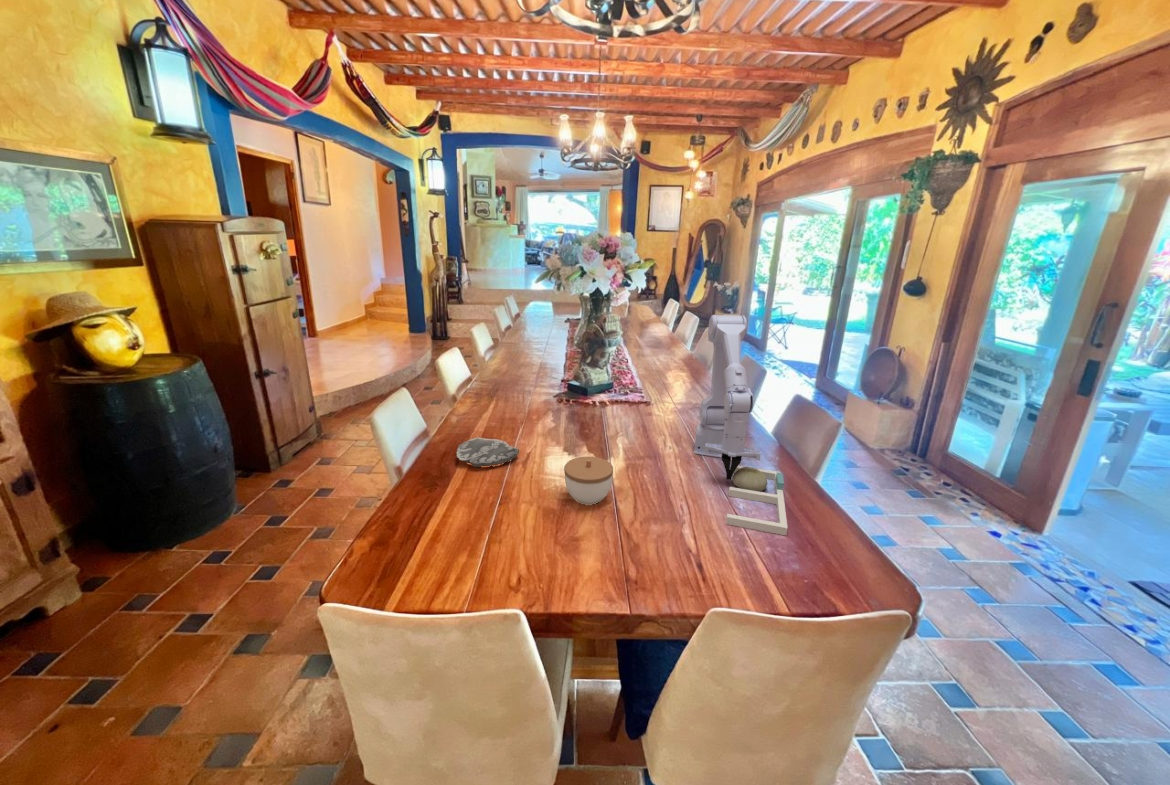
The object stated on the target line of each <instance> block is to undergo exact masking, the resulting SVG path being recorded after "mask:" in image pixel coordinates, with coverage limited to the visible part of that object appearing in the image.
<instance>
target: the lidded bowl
mask: <svg viewBox="0 0 1170 785" xmlns="http://www.w3.org/2000/svg"><path fill="white" fill-rule="evenodd" d="M563 472H564V482H565V486H566V487H565V488H566V490H567V492H568V494H569V495H570V496H571V498H572V499H573V500H575V501H576V500H577V501H578V502H580V503H581V504H580V505H582V504H587V505H586V506H592V505H591V504H595V505H597V504H596V503H598V502H599V503H601V501H602V500H604V499H605V498H606V497H607V495H608V494H609V492H610V490H611V487H612V485H613V484H612V482H613V475H614V474H613V473H614V466H613V464H612V463H611V462H609V461H608V460H606V459H604V458H601V457H597V456H580V457H575V458H573V459H571V460H569V461H567V462H566V463H565V465H564V469H563ZM578 502H577V503H578ZM599 503H598V504H599Z"/></svg>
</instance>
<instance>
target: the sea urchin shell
mask: <svg viewBox="0 0 1170 785" xmlns="http://www.w3.org/2000/svg"><path fill="white" fill-rule="evenodd" d="M758 469H759V468H756V467H751V466H743V467H742V468H740V469H739V470H737V471H736V472H735V473H734V474H733V475H732V483H733V485H735V486H736V488H740V489H746V490H752V491H758V492H763V491H764V490H766V489H767V487H768V479H767V478H766V477H765V475H764V474H763V473H762V472H761V471H759V470H758Z"/></svg>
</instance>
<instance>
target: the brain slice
mask: <svg viewBox="0 0 1170 785" xmlns="http://www.w3.org/2000/svg"><path fill="white" fill-rule="evenodd" d="M519 454H520V449H519V448H518V447H514V446H511V445H510V444H508V443H507V442H506V441H505V440H501V439H497V438H484V437H474V438H471V439H468V440H466V441H463V442H462V443H460V444H458V447H457V448H456V458H458V460H459V461H462V462H464V463H465V462H466V463H471V464H472V466H473V467H474V466H475V467H474V468H476V467H481V466H490V465H491V466H492V465H498V464H502V463H505V462H506V463H509V462H508V461H510V460H512V459H513V458H514V459H516V457H517V456H518V455H519ZM514 459H513V460H514ZM513 460H512V461H513ZM510 462H511V461H510ZM466 463H465V464H466ZM506 463H505V464H506Z"/></svg>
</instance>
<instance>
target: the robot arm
mask: <svg viewBox="0 0 1170 785" xmlns="http://www.w3.org/2000/svg"><path fill="white" fill-rule="evenodd" d="M747 329H748V321H747V317H746V316H745V314H740V315H721V314H718V315H717V314H712V315H711V316H710V317H709V321H708V330H707V332H708V333H707V337H708V342H709V343H712V344H713V355H712V356H713V359H712V370H711V371H712V372H711V388H710V394H709V395H708V396H707V397H705V398H704V399H702V400H701V402H700V408H699V414H698V416H699V423H698V424H697V427H696V432H695V440H694V451H693V452H694V454H696V455H701V456H709V457H714V458H721V461H722V464H723V467H724V469H725V475H726V476H725V477H726V481H727V480H729V481H731V480H732V479H733V475H734V474H733V473H734V471H735V469H736V468H737V466H740V465H741V462H742V458H747V459H748V458H749V459H750V458H751V459H755V460H756V461H761V456H762V455H761V454H762V452H761V450H757V449H753V448H748V447H747V446H746V447H745V443H746V442H745V441H746V433H747V426H748V419H749V418H748V417H749V414H750V413H752V412H753V409H754V395H753V392H752V391H751V388H750V387H749V386H748V385H749V384H748V376H747V375H748V374H747V369H746V368H745V367H744V366H743V365H742V350H741V349H742V346H741V342H742V341H743V339H744V337H745V335H746V333H747Z"/></svg>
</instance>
